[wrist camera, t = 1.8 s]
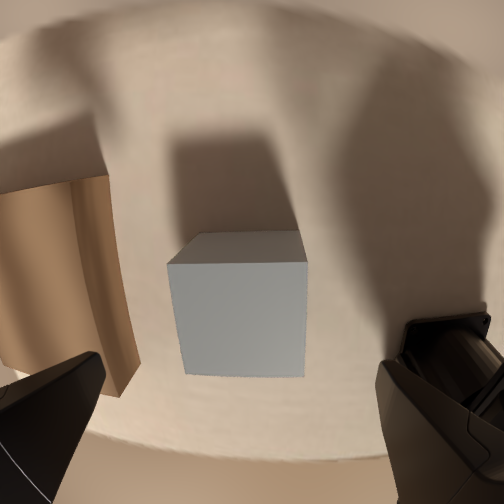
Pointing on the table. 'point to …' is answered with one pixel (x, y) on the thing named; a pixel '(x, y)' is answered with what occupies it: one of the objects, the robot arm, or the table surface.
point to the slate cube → (241, 303)
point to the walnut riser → (63, 281)
